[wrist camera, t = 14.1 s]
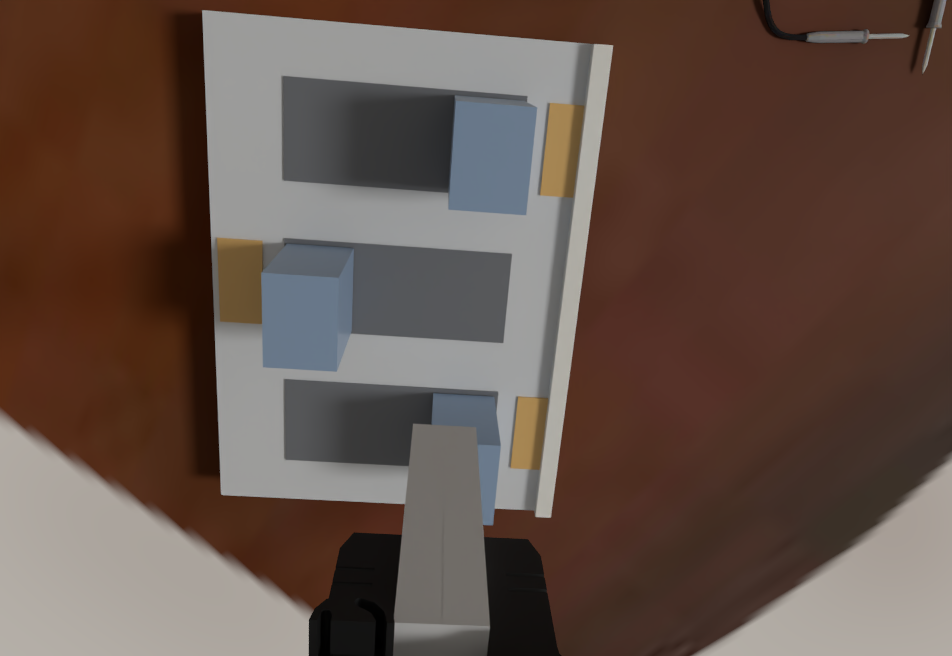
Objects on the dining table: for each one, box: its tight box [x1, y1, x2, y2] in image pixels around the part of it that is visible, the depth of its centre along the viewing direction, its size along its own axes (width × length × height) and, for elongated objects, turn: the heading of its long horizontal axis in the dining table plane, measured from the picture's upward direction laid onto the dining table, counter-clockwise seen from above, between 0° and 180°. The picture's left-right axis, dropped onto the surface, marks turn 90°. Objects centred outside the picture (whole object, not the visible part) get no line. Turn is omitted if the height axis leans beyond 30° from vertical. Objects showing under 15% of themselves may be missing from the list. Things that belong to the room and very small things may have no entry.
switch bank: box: [202, 10, 613, 518], centre depth 36 cm, size 23×17×3 cm
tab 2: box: [448, 95, 537, 215], centre depth 30 cm, size 4×3×5 cm
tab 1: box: [261, 243, 354, 372], centre depth 32 cm, size 4×3×5 cm
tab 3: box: [431, 393, 501, 525], centre depth 35 cm, size 4×3×5 cm
